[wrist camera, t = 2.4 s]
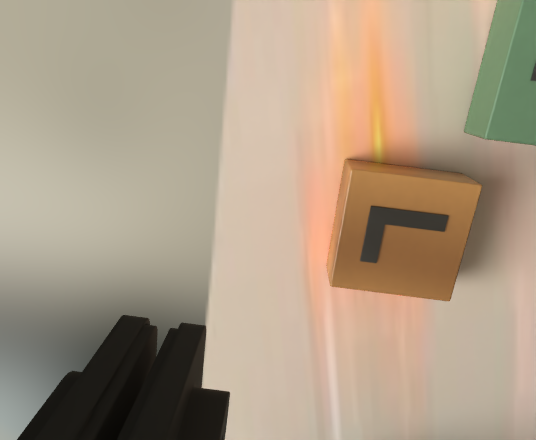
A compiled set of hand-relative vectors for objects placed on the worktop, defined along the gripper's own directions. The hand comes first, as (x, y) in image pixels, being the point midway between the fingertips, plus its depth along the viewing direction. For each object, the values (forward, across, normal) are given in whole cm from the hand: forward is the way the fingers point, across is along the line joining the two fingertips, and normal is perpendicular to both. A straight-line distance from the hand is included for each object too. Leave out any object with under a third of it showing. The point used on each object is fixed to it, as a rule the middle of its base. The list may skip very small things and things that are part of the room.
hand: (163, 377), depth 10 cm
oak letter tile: (+14, -8, 0) cm, 16 cm away
